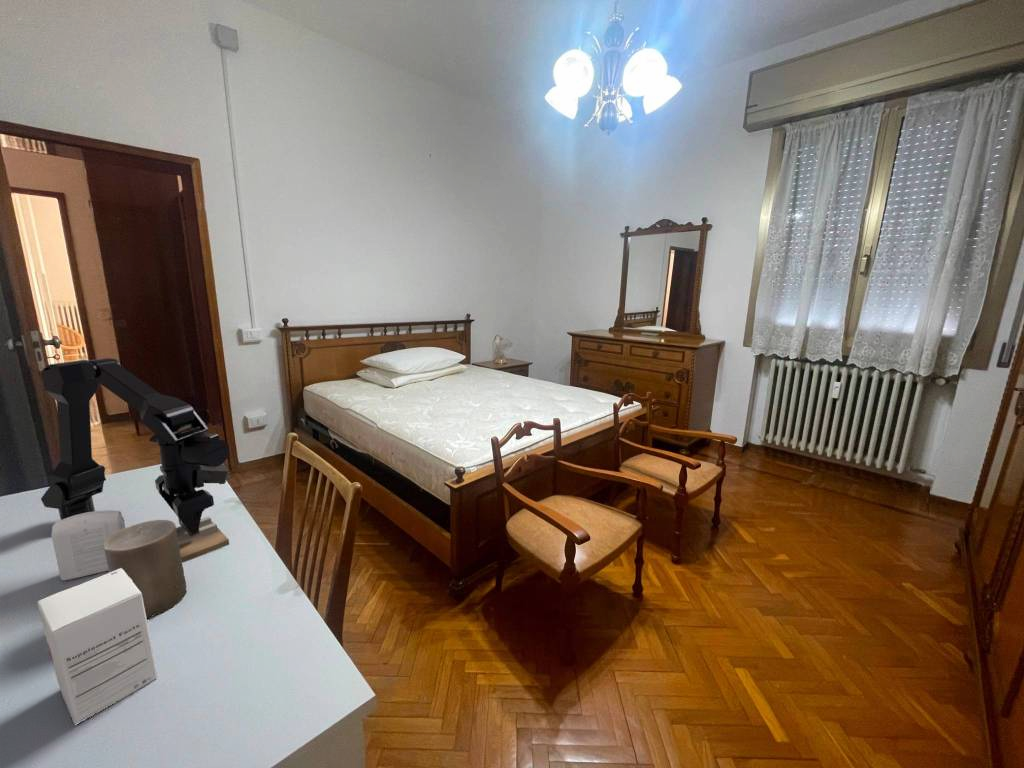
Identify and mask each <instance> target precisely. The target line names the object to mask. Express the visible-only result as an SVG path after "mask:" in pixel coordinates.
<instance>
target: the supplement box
mask: <svg viewBox="0 0 1024 768" xmlns="http://www.w3.org/2000/svg"><path fill="white" fill-rule="evenodd" d="M37 607H38V611H39V614H40V619H41V623H42V624H41V625H42V627H43V631H44V635H45V638H46V643H47V646H48V650H49V655H50V657H51V661H52V666H53V669H54V671H55V677H56V679H57V683H58V685H59V690H60V692H61V693H60V694H61V696H62V698H63V700H64V703H65V705H66V707H67V710H68V712H69V713H68V714H69V715H70V717H72V718H71V719H72V722H73V721H74V722H73V724H74V723H75V724H77V723H79V722H81V721H83V720H84V719H86V718H88V717H90V716H92V715H94V714H95V713H97V712H99V713H100V711H101V710H102V711H104V710H106V709H107V708H109V707H111V706H113V705H114V704H116V703H117V701H118V702H119V701H121V700H123V699H124V698H126V697H128V696H129V695H132V694H133V693H134V692H136V691H138V690H140V689H141V688H143V687H144V686H146V685H148V684H150V683H151V682H154V681H155V680H156V679H158V671H157V666H156V660H155V656H154V650H153V646H152V641H151V636H150V629H149V624H148V620H147V618H146V613H145V608H144V603H143V598H142V593H141V592H140V590H139V589H138V588H137V587H136V585H135V584H134V583H133V581H132V579H131V578H129V577H128V575H127V574H126V573H125V571H124V570H123V569H122V568H120V569H117V570H115V571H112V572H110V573H109V572H108V573H106V574H103V575H101V576H98V577H95V578H93V579H91V580H88V581H85V582H83V583H81V584H77V585H75V586H73V587H70V588H67V589H64V590H62V591H59V592H55V593H54V594H51V595H49V596H47V597H45V598H41V599H40V600H38V601H37ZM112 704H113V705H112ZM110 705H111V706H110ZM108 706H109V707H108ZM105 708H106V709H105ZM103 709H104V710H103ZM102 711H101V712H102ZM97 714H98V713H97ZM95 715H96V714H95ZM95 715H94V716H95ZM92 717H93V716H92ZM90 718H91V717H90ZM75 724H74V725H75Z"/></svg>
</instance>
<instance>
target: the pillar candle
mask: <svg viewBox="0 0 1024 768" xmlns="http://www.w3.org/2000/svg"><path fill="white" fill-rule="evenodd" d="M176 528H177V527H176V523H175V522H173V521H172V520H170V519H155V520H148V521H143V522H139V523H136V524H132V525H129V526H128V527H126V526H125V528H124V529H122V530H120V531H119V532H117V533H115V534H113V535H112V536H110V537H109V538H108V539H107V540H106V541H105V542H104V544H103V547H104V548H103V549H104V550H105V555H106V560H107V565H108V571H107V572H108V573H110V572H112V571H115V570H117V569H120V568H122V569H123V570H124V571H125V573H126V574H127V575H128V577H129V578H131V579H132V581H133V583H134V584H135V585H136V587H137V588H138V589H139V590H140V592H141V593H142V598H143V603H144V608H145V613H146V618H151V617H153V616H157V615H160V614H162V613H164V612H166V611H168V610H170V609H171V608H173V607H175V606H176V605H178V603H180V602H181V600H183V598H184V597H185V596H186V594H187V593H188V590H187V580H186V576H185V572H184V565H183V563H182V560H181V554H180V549H179V543H178V537H177V532H176Z"/></svg>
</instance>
